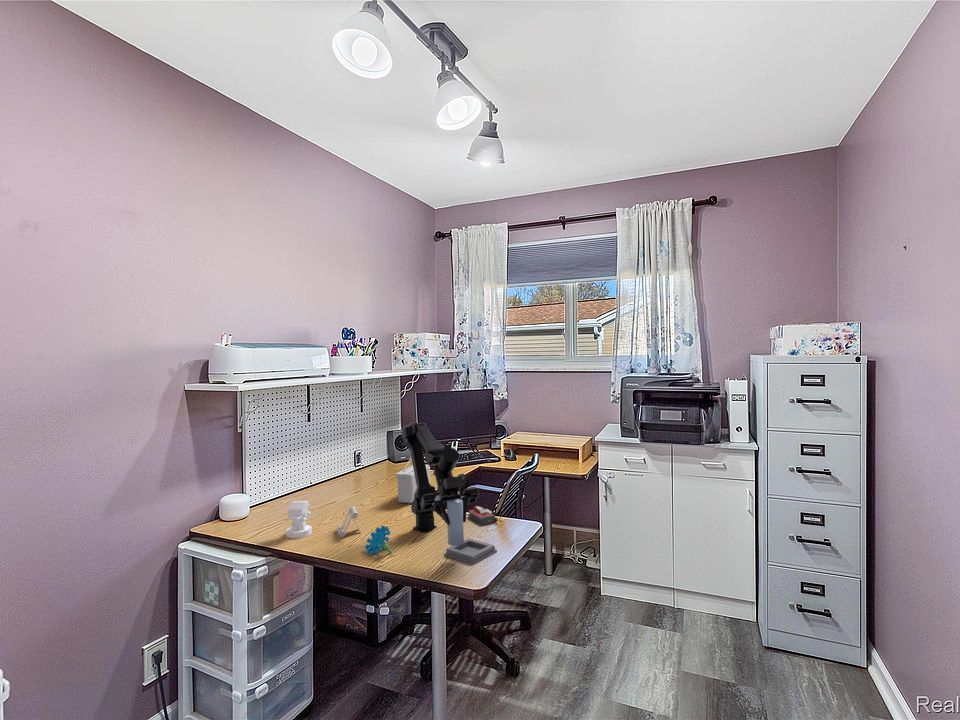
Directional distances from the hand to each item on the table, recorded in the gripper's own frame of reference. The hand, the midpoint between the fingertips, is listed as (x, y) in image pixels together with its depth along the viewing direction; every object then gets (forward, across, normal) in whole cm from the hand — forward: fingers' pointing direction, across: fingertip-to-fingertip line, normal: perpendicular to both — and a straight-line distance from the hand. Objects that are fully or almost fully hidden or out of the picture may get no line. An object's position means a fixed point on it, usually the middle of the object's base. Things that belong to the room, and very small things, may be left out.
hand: (456, 522), depth 152 cm
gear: (-4, -21, +21) cm, 30 cm away
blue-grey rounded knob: (+4, 0, +6) cm, 7 cm away
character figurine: (-25, -45, +42) cm, 66 cm away
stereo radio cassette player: (-44, +5, +61) cm, 75 cm away
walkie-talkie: (-16, +22, +33) cm, 43 cm away
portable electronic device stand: (-20, -28, +37) cm, 51 cm away
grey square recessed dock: (+6, +5, +10) cm, 13 cm away
